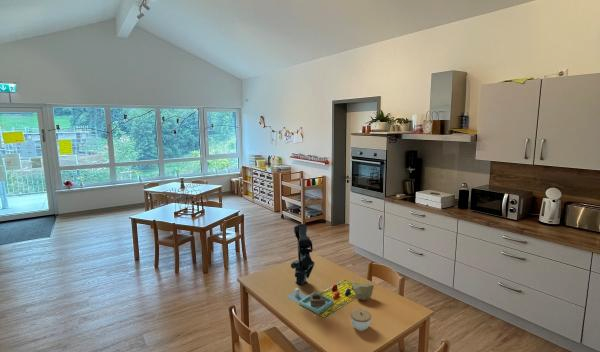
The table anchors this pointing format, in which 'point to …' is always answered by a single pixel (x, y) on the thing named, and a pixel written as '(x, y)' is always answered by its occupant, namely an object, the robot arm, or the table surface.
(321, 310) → the tray
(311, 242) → the robot arm
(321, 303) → the walnut square frame
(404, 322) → the table surface
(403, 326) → the table surface
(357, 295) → the grey bowl
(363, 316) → the lidded jar
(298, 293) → the grey square knobbed piece
